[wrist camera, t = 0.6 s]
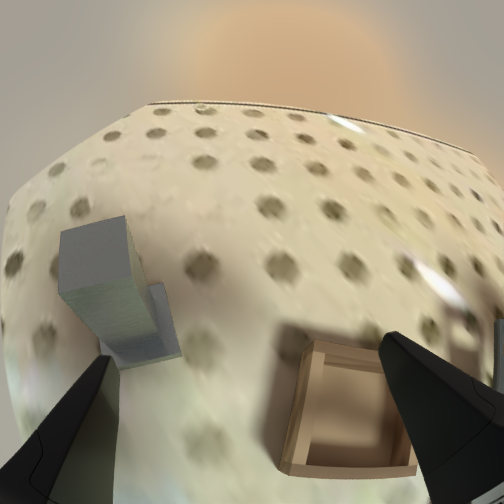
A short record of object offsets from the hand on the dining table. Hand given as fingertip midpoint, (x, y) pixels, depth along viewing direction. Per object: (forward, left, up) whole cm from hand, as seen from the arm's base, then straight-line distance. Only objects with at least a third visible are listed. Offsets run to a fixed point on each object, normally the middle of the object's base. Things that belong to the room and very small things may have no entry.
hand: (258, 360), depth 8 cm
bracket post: (+4, +10, -16) cm, 19 cm away
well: (+1, -10, -16) cm, 19 cm away
